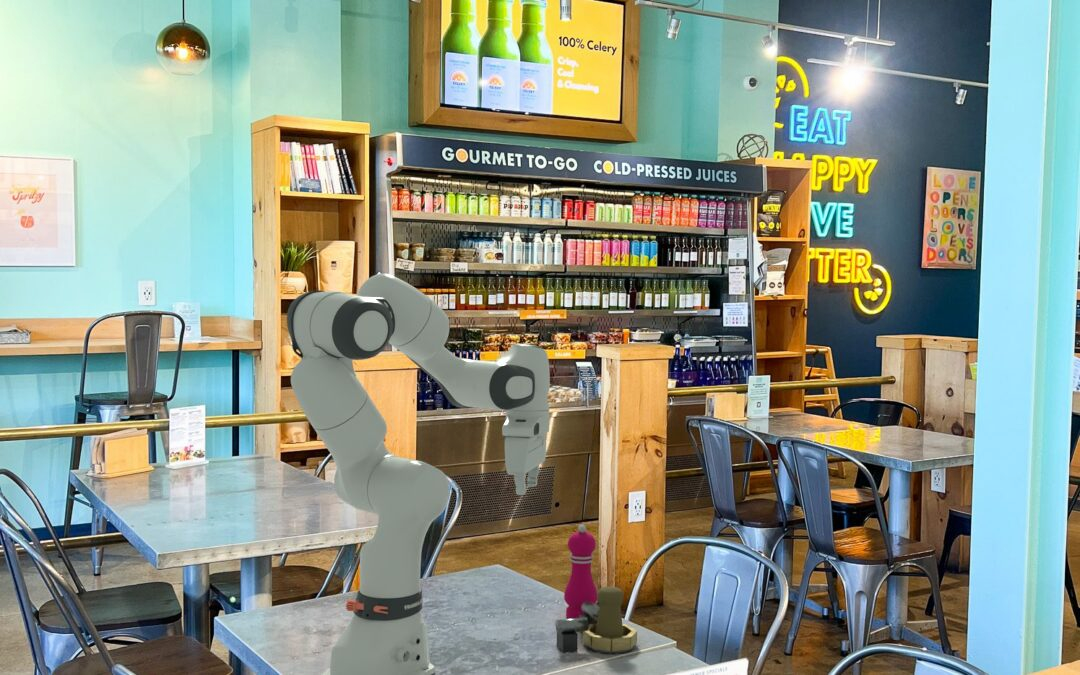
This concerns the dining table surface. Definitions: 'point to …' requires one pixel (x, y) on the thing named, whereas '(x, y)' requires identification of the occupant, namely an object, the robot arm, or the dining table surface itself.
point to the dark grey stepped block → (570, 633)
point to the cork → (609, 612)
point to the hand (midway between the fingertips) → (526, 490)
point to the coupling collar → (610, 641)
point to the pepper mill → (580, 573)
